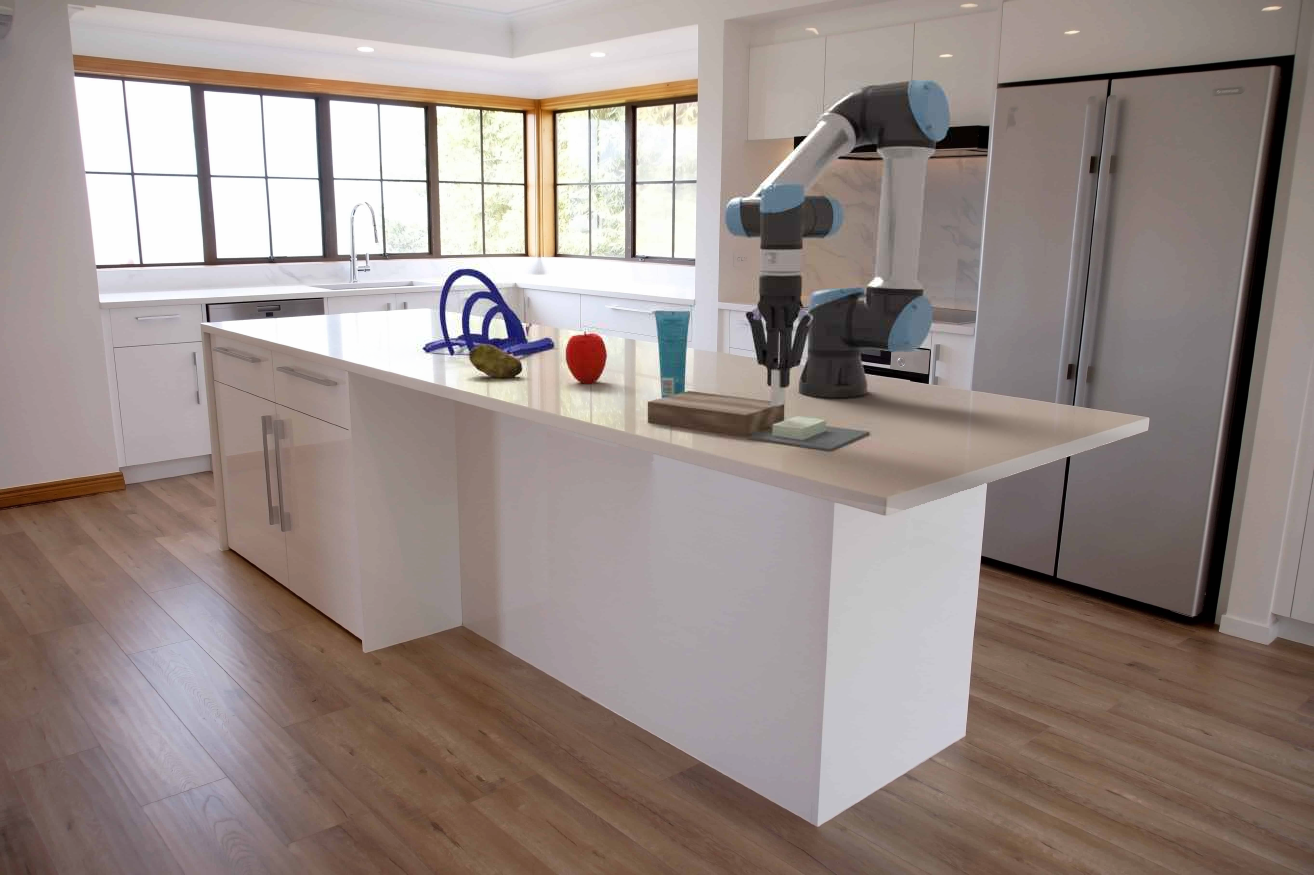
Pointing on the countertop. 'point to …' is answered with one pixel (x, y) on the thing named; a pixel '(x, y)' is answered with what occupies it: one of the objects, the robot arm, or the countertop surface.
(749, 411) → the board
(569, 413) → the countertop surface
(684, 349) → the tube
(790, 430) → the pale green block
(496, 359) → the potato
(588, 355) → the apple
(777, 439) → the mat
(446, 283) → the sculpture
